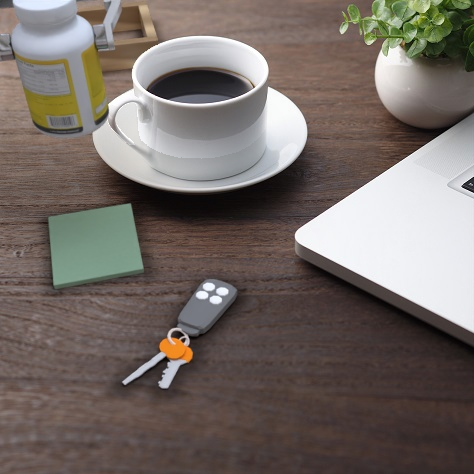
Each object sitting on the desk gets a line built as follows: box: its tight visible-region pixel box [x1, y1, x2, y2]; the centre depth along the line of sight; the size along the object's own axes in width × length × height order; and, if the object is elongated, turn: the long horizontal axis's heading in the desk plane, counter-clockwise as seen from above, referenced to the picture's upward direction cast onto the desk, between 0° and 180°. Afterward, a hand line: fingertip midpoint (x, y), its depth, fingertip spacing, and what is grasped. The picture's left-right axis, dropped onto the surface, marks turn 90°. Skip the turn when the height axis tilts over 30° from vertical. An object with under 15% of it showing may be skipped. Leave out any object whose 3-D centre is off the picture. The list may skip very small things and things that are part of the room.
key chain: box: [121, 278, 238, 390], centre depth 70 cm, size 13×4×2 cm, turn 157°
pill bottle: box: [10, 0, 110, 139], centre depth 68 cm, size 6×6×12 cm
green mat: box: [47, 202, 145, 290], centre depth 79 cm, size 10×8×1 cm
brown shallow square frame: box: [76, 0, 160, 73], centre depth 106 cm, size 11×11×4 cm
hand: (56, 54), depth 67 cm, fingers closed on pill bottle, 6 cm apart
